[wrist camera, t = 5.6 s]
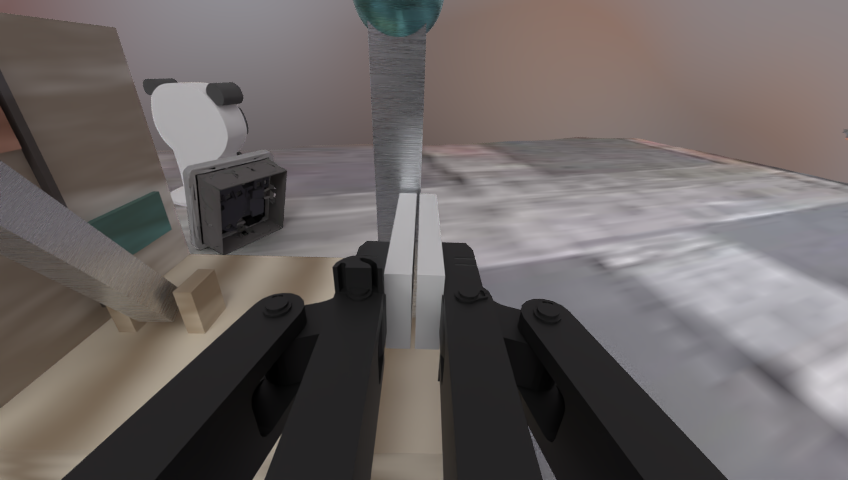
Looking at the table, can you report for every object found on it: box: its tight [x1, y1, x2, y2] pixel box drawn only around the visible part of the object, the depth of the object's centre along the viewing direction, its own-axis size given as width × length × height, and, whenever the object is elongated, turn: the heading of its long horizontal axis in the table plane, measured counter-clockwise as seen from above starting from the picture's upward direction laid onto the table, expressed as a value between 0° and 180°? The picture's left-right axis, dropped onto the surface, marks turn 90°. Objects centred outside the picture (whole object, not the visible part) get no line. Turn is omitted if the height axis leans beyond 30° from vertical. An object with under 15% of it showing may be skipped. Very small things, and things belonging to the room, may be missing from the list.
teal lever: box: [353, 0, 444, 318], centre depth 16 cm, size 3×3×17 cm
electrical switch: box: [183, 150, 287, 255], centre depth 35 cm, size 9×5×9 cm, turn 153°
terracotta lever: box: [0, 160, 179, 322], centre depth 13 cm, size 3×3×17 cm
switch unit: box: [0, 13, 443, 480], centre depth 18 cm, size 23×16×19 cm
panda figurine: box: [143, 79, 248, 206], centre depth 46 cm, size 12×11×15 cm
